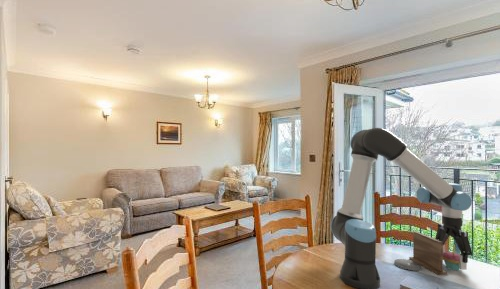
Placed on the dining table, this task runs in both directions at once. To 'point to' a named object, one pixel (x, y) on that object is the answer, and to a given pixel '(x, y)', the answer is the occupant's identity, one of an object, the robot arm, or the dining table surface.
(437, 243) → the screen
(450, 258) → the cupcake
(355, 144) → the robot arm
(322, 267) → the dining table surface
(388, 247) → the dining table surface
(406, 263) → the plate
